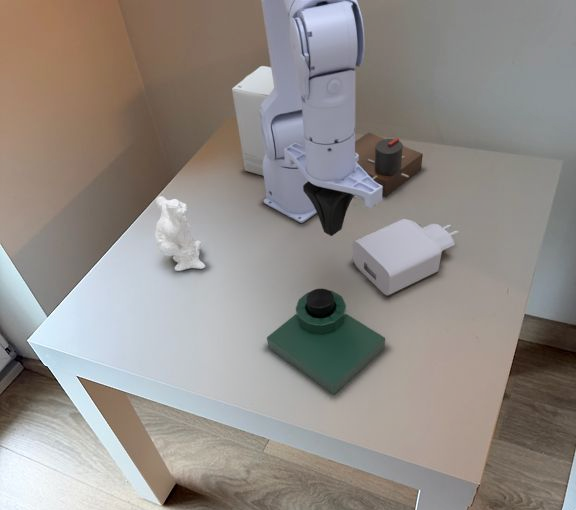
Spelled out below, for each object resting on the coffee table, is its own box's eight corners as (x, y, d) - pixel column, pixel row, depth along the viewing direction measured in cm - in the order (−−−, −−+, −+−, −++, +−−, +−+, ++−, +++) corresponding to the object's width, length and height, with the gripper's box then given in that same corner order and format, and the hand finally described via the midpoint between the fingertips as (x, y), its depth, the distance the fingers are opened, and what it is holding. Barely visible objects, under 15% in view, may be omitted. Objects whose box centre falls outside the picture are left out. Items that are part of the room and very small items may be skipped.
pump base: (267, 347, 73) (263, 327, 70) (320, 303, 77) (319, 282, 74) (334, 395, 68) (333, 376, 64) (388, 345, 71) (390, 325, 68)
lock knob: (389, 179, 88) (390, 154, 85) (369, 169, 91) (369, 145, 87) (406, 167, 90) (408, 142, 87) (386, 158, 92) (387, 133, 89)
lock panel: (327, 176, 96) (326, 159, 93) (368, 147, 100) (368, 131, 98) (390, 205, 89) (391, 188, 87) (432, 174, 93) (434, 157, 91)
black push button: (301, 310, 72) (300, 299, 70) (320, 295, 73) (319, 284, 72) (321, 322, 70) (320, 312, 69) (340, 307, 72) (339, 296, 70)
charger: (471, 258, 80) (388, 298, 77) (432, 226, 85) (352, 263, 82) (477, 232, 76) (389, 273, 73) (436, 200, 81) (352, 237, 78)
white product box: (285, 183, 96) (275, 97, 84) (244, 171, 99) (229, 88, 87) (310, 157, 100) (305, 72, 88) (270, 146, 104) (260, 63, 92)
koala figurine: (218, 266, 84) (201, 199, 75) (181, 285, 82) (158, 220, 73) (193, 239, 89) (174, 174, 79) (157, 257, 87) (133, 192, 77)
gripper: (403, 136, 58) (395, 238, 68) (310, 96, 65) (316, 194, 76) (358, 166, 55) (357, 267, 66) (266, 121, 62) (279, 219, 73)
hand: (332, 230), depth 71 cm, fingers closed
